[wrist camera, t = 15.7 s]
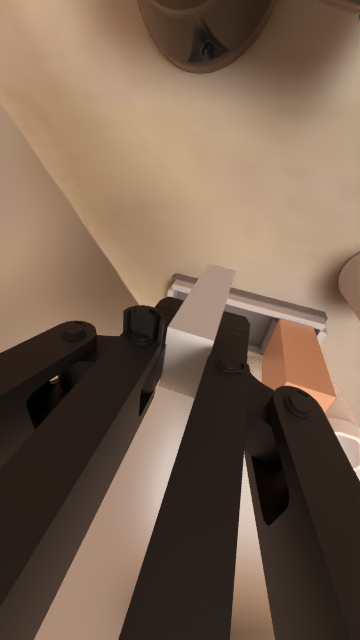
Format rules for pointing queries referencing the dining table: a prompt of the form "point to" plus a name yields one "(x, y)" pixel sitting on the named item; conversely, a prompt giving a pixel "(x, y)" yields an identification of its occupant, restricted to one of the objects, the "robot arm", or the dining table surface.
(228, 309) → the shallow rimmed tray
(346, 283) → the mug
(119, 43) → the dining table surface
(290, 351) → the large orange block
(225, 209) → the dining table surface
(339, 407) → the foam cup
